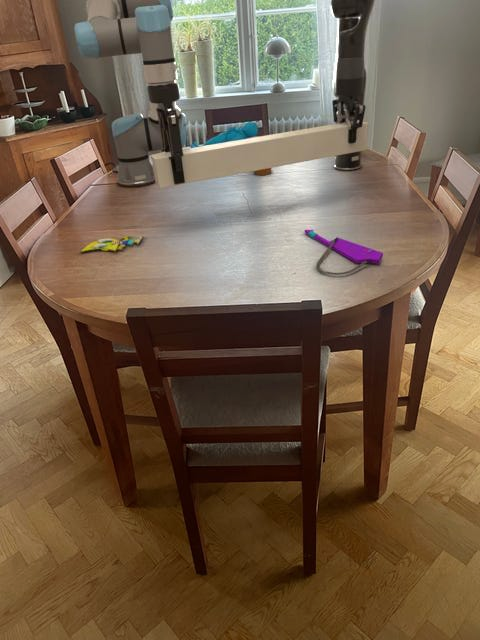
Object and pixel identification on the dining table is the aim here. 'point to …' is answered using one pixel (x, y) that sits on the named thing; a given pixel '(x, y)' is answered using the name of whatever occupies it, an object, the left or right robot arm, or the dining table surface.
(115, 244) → the toy
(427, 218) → the dining table surface
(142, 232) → the dining table surface
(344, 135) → the post
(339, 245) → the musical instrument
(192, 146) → the toy
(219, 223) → the dining table surface
